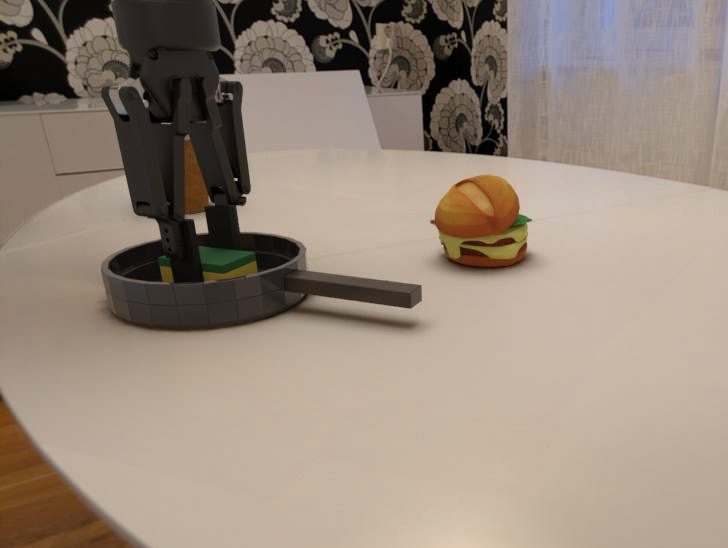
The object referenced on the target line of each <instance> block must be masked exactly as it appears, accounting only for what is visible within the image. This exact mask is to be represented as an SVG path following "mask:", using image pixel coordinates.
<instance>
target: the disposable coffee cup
mask: <svg viewBox="0 0 728 548" xmlns="http://www.w3.org/2000/svg"><path fill="white" fill-rule="evenodd" d="M161 124H171V123H161ZM166 202H167V201H166ZM167 205H170V204H169V202H167ZM209 205H210V198H209V195H208V192H207V189H206V186H205V183H204V180H203V177H202V174H201V171H200V168H199V165H198V162H197V159H196V156H195V153H194V150H193V147H192V144H191V141H190V138H189V135H187V136H186V137H185V215H189V214H197V213H202V212H205V209H204V207H205V206H209Z"/></svg>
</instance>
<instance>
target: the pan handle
mask: <svg viewBox="0 0 728 548" xmlns="http://www.w3.org/2000/svg"><path fill="white" fill-rule="evenodd" d="M283 278H284V286H285V291H286V292H293V293H300V294H305V295H309V296H315V297H321V298H322V297H323V298H329V299H337V300H345V301H350V302H351V301H352V302H359V303H366V304H373V305H379V306H380V305H381V306H387V307H395V308H402V309H409V310H411V309H413V308H414V307H415V306H417V305H418V304H419V303H421V302H422V301H423V291H422V289H423V286H422V285H421V284H415V283H408V282H400V281H391V280H386V279H385V280H383V279H376V278H369V277H359V276H351V275H345V274H338V273H337V274H335V273H330V272H329V273H328V272H322V271H321V272H319V271H312V270H309V271H306V270H296V271H294V272H292V273H289V274H287V275H285V276H284V277H283Z"/></svg>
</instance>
